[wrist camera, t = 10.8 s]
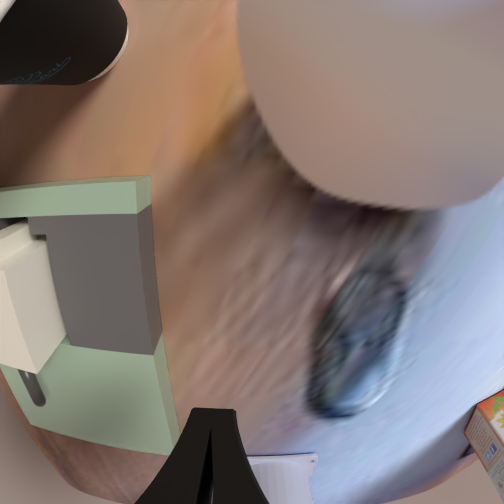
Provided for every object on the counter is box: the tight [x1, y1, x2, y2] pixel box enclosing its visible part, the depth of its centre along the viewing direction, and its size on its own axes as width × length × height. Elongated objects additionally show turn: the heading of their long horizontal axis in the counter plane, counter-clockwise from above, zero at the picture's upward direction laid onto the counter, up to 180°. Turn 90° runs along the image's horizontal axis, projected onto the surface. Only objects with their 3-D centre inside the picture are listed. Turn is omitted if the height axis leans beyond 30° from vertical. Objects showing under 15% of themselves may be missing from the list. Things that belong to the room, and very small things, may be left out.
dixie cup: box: [0, 0, 128, 85], centre depth 8 cm, size 8×8×11 cm
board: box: [0, 176, 180, 455], centre depth 17 cm, size 20×14×2 cm
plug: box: [0, 218, 67, 407], centre depth 15 cm, size 11×4×6 cm, turn 178°
